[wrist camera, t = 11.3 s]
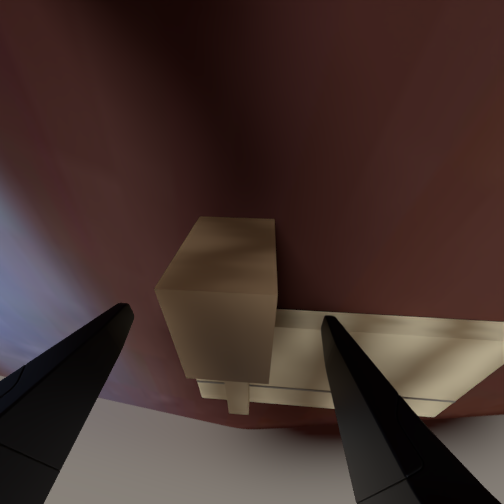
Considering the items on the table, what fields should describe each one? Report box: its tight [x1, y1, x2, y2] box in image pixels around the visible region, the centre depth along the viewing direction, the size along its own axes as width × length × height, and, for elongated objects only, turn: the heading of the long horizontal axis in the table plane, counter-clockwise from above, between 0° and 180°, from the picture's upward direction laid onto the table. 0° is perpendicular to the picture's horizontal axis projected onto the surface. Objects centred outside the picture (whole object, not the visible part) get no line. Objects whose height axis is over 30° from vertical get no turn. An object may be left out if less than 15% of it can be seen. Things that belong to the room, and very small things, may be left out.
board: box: [197, 309, 504, 417], centre depth 18 cm, size 22×12×2 cm, turn 90°
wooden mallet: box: [154, 216, 278, 415], centre depth 14 cm, size 4×16×6 cm, turn 0°
